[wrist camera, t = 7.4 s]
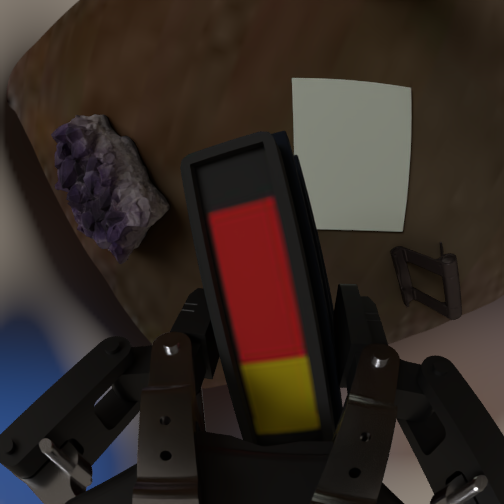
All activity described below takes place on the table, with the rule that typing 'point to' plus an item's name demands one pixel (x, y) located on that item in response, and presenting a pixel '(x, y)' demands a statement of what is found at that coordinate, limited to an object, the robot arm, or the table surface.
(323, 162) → the sage mat
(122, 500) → the robot arm
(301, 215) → the black red yellow block
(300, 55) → the table surface
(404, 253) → the portable electronic device stand
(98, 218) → the geode
